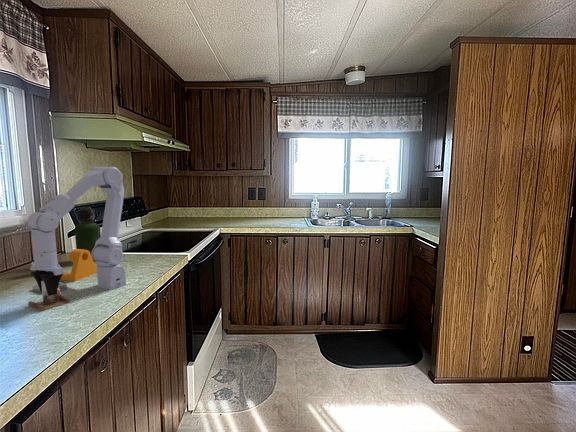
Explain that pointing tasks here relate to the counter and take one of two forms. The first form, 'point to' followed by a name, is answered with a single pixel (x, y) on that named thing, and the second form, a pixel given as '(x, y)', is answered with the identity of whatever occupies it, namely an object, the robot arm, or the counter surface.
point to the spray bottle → (87, 230)
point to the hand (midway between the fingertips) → (48, 293)
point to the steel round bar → (45, 296)
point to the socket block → (62, 287)
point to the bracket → (80, 265)
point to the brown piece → (45, 306)
